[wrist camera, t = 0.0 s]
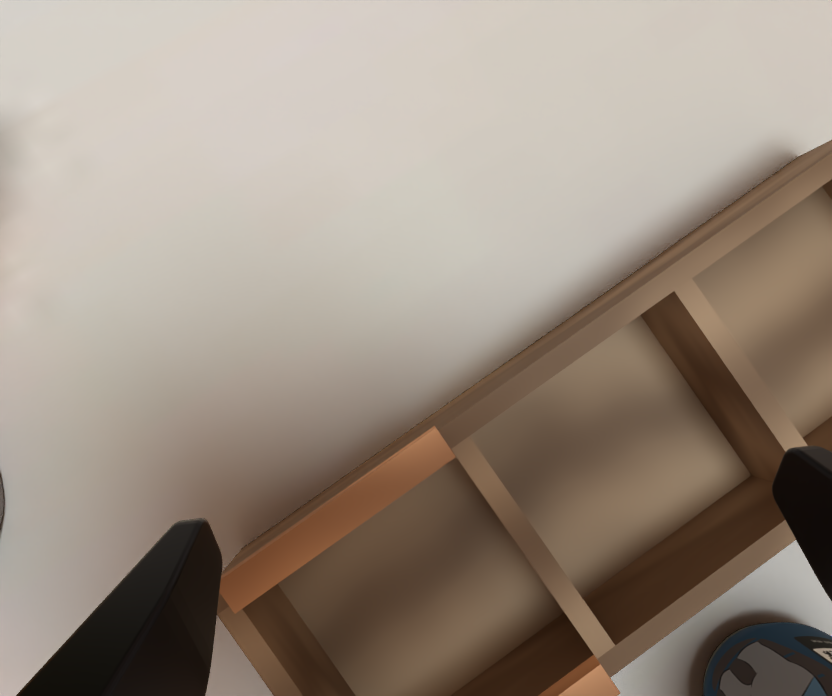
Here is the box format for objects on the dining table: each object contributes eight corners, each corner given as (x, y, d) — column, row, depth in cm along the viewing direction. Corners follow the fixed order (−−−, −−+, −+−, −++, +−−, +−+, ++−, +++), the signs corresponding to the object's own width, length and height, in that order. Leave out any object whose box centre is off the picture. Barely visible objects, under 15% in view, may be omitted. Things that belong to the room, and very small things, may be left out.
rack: (934, 352, 24) (1080, 350, 19) (386, 755, 23) (383, 869, 18) (796, 152, 24) (904, 96, 19) (239, 544, 23) (193, 598, 18)
